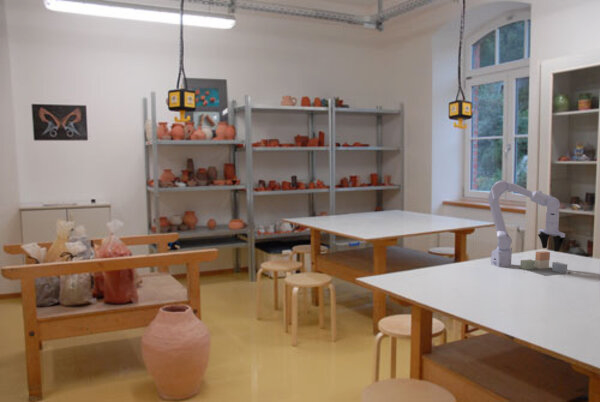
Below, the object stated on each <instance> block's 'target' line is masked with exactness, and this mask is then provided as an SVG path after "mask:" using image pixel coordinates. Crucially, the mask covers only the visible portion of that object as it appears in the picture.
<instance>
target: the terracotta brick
mask: <svg viewBox="0 0 600 402" xmlns="http://www.w3.org/2000/svg"><path fill="white" fill-rule="evenodd" d="M550 257H551V252H550V251H548V250H540V251H535V258H534V259H535V260H539V261H543V260H549V261H550ZM535 260H534V261H535Z"/></svg>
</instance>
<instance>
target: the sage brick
mask: <svg viewBox="0 0 600 402" xmlns="http://www.w3.org/2000/svg"><path fill="white" fill-rule="evenodd" d="M520 268H522V269H521V270H524V269H535V260H534V259H521V260H520V267H519V269H520Z"/></svg>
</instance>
